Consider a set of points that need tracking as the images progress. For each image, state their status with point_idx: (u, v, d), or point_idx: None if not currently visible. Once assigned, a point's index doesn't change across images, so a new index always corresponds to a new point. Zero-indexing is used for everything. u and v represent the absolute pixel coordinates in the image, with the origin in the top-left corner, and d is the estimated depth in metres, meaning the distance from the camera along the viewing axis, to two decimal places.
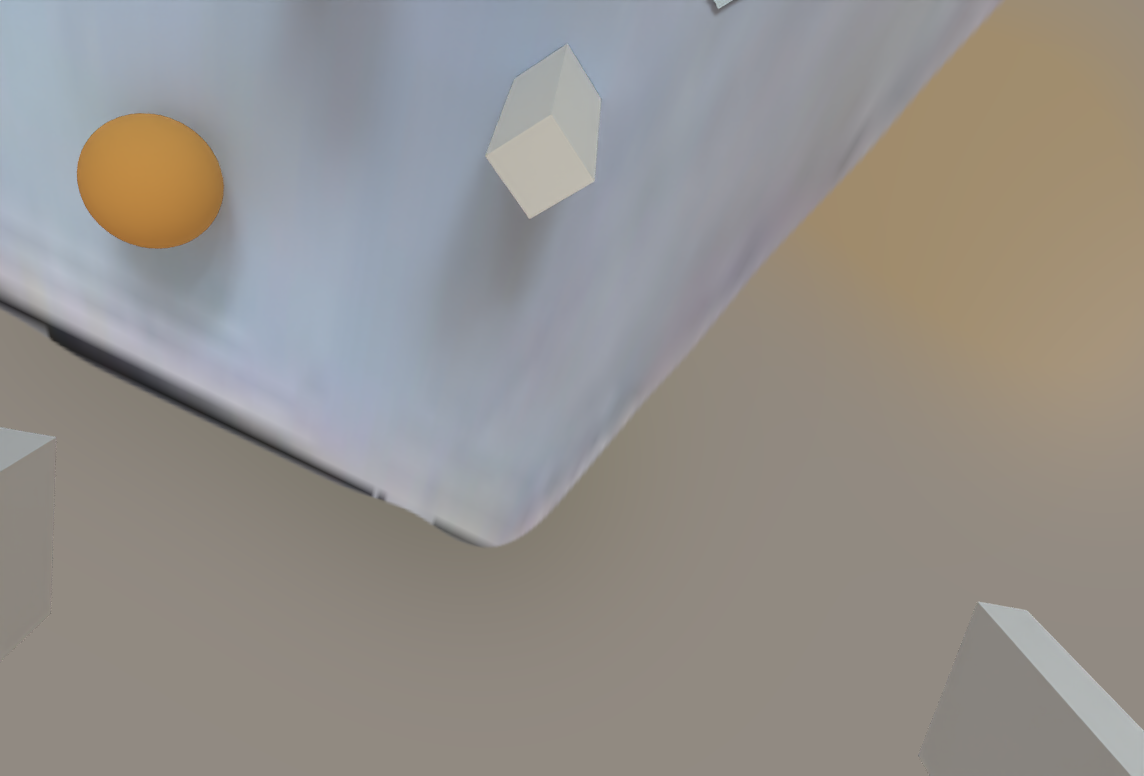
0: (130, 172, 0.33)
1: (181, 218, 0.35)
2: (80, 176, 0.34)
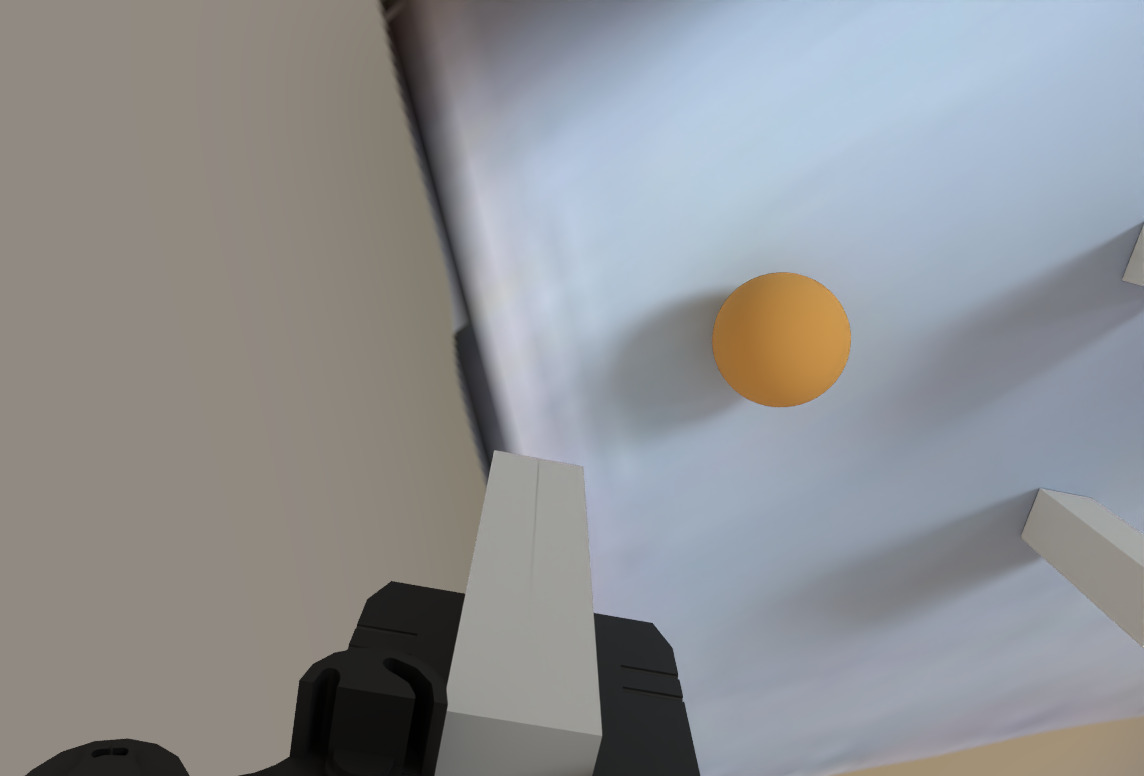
0: (831, 340, 0.33)
1: (808, 396, 0.34)
2: (779, 302, 0.33)
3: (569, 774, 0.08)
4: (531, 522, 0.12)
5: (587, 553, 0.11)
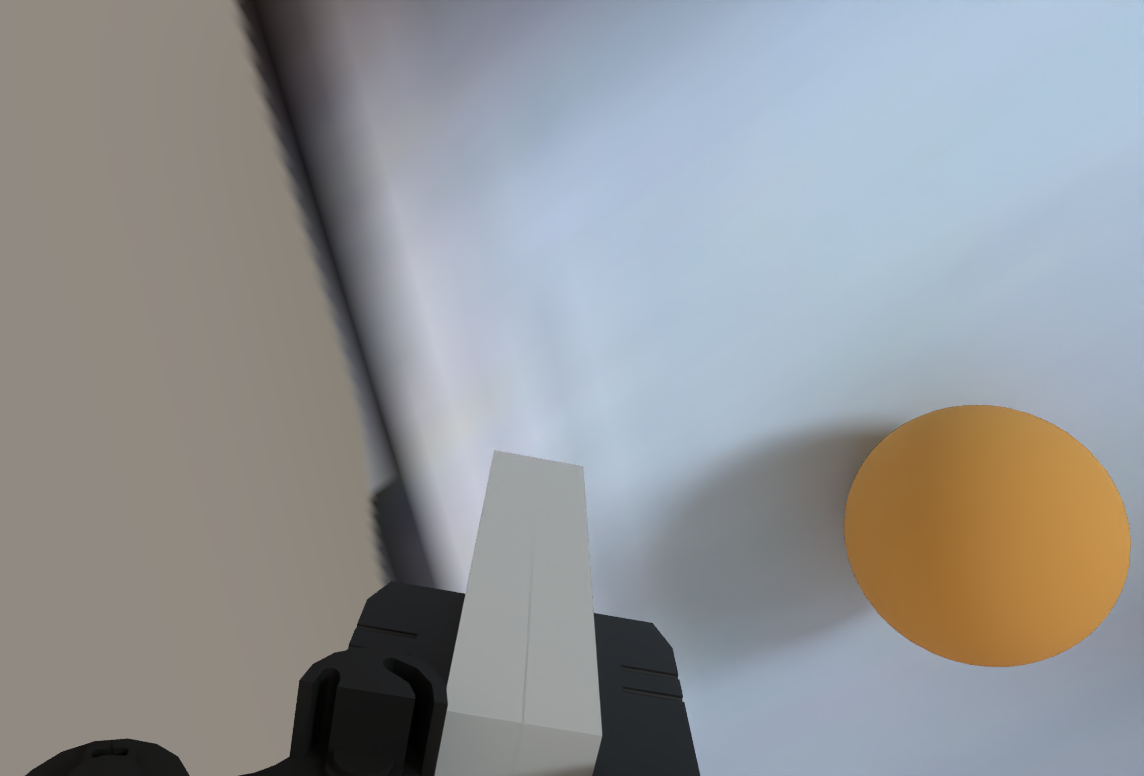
0: (1110, 562, 0.16)
1: (1048, 657, 0.17)
2: (1004, 485, 0.16)
3: (569, 774, 0.08)
4: (531, 522, 0.12)
5: (587, 553, 0.11)
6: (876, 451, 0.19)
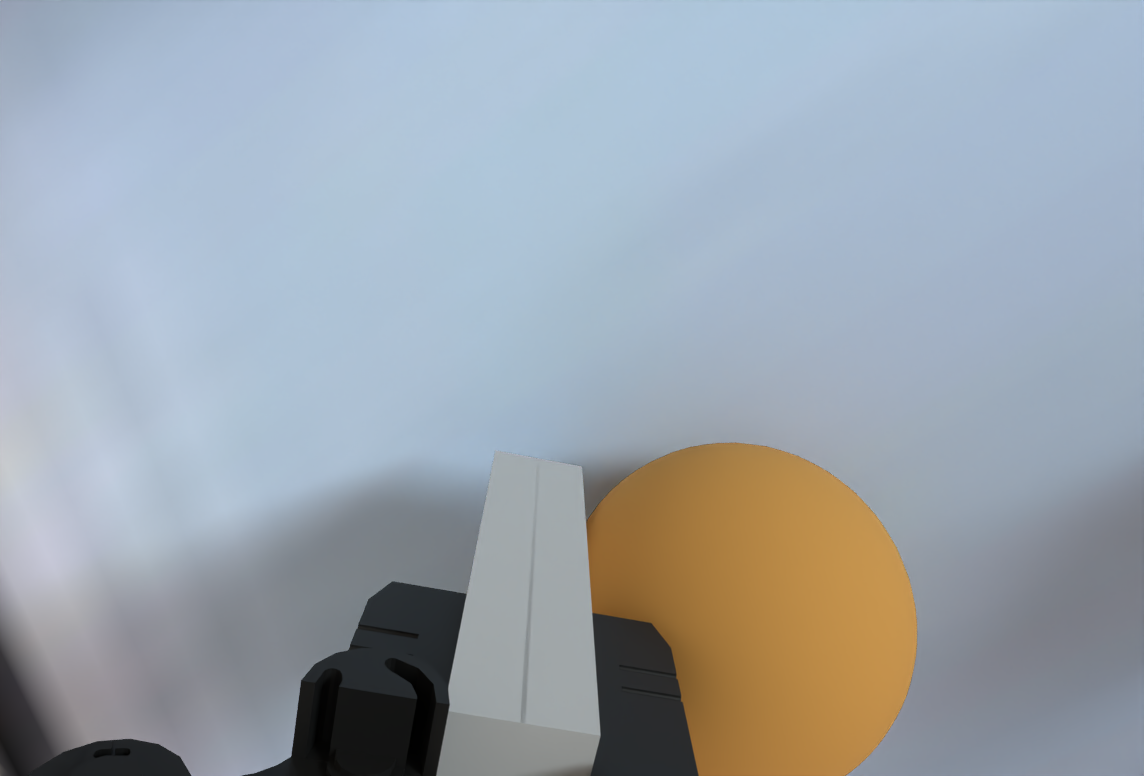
0: (906, 655, 0.12)
1: None
2: (774, 583, 0.11)
3: (568, 774, 0.08)
4: (532, 522, 0.12)
5: (586, 553, 0.11)
6: (593, 530, 0.13)
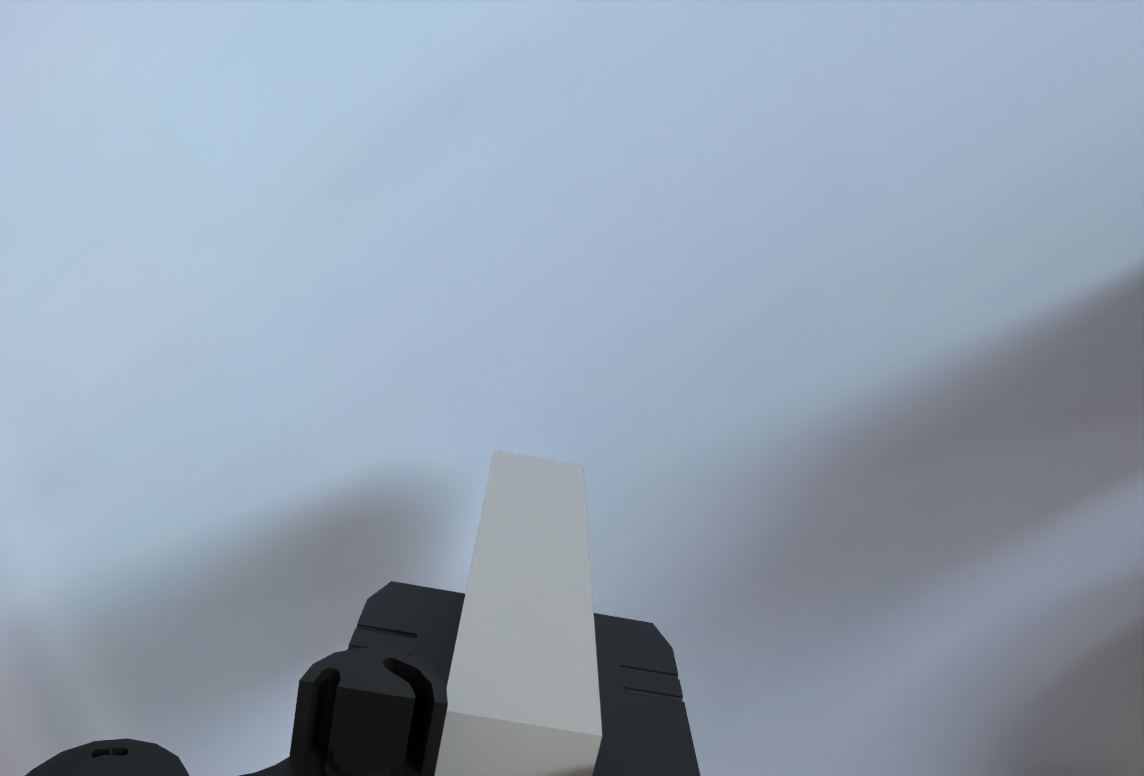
0: None
1: None
2: None
3: (569, 775, 0.08)
4: (531, 522, 0.12)
5: (587, 553, 0.11)
6: None
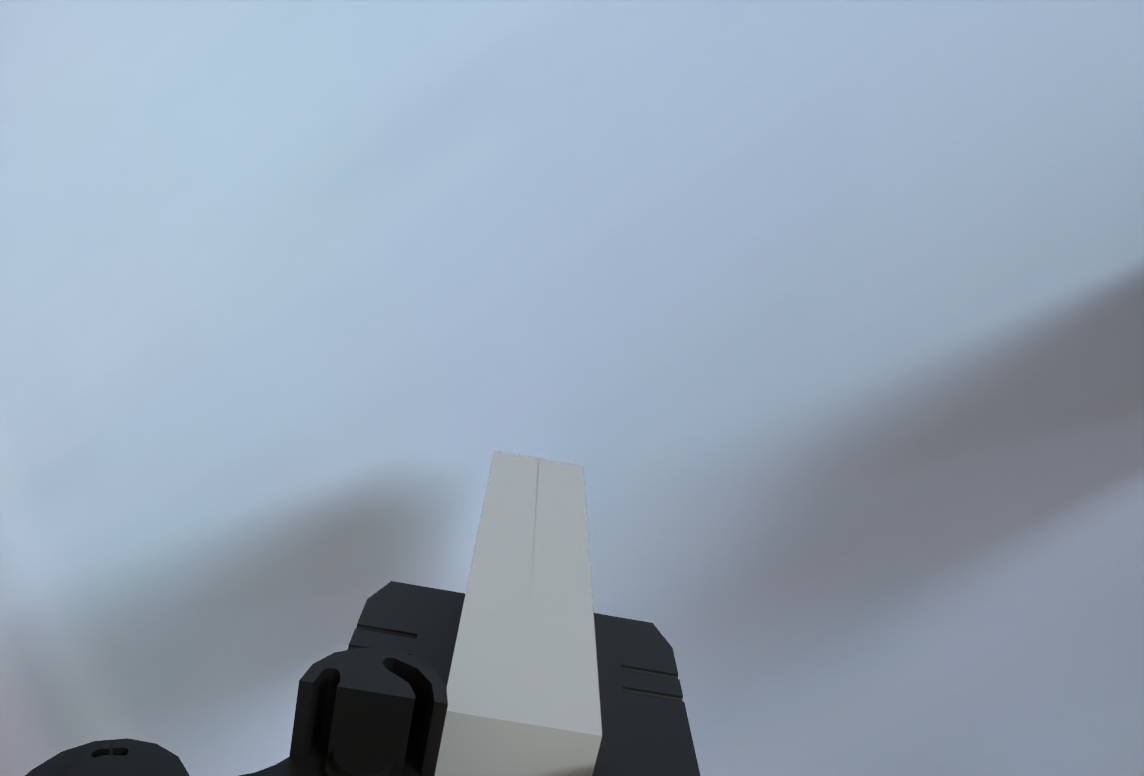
0: None
1: None
2: None
3: (569, 775, 0.08)
4: (531, 522, 0.12)
5: (587, 553, 0.11)
6: None
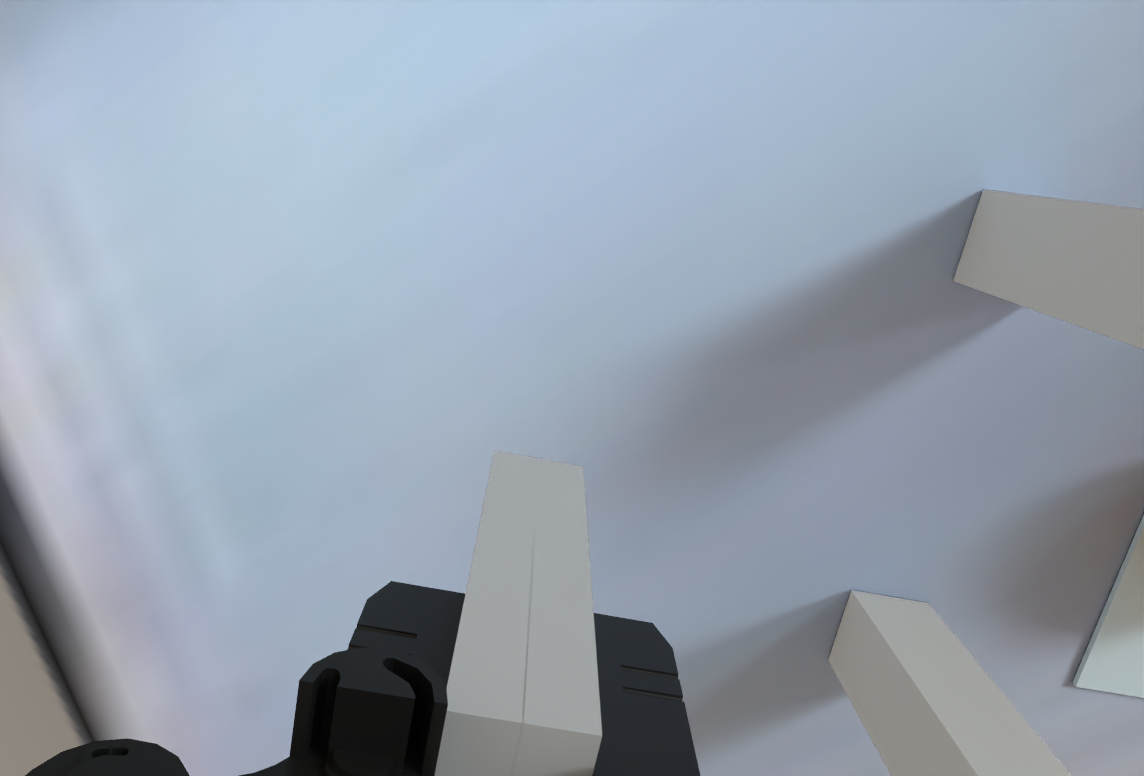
0: None
1: None
2: None
3: (569, 774, 0.08)
4: (531, 522, 0.12)
5: (587, 553, 0.11)
6: None
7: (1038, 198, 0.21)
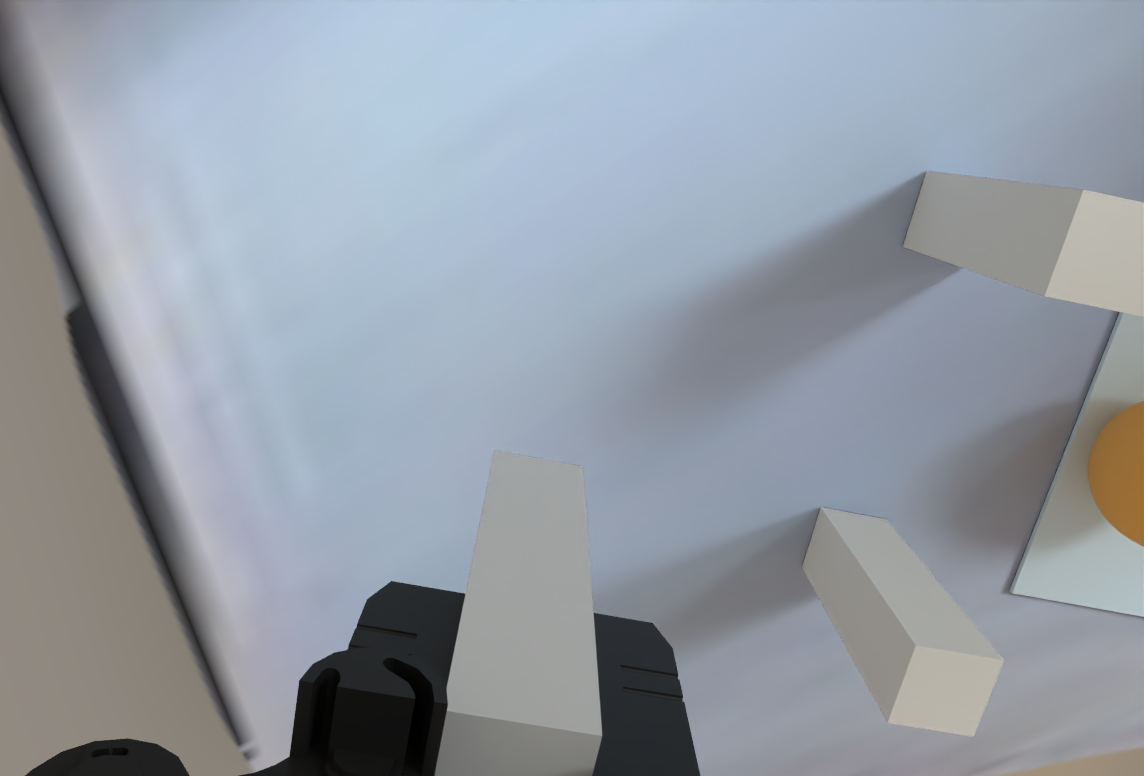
0: None
1: None
2: None
3: (569, 774, 0.08)
4: (531, 522, 0.12)
5: (587, 553, 0.11)
6: None
7: (963, 177, 0.26)
